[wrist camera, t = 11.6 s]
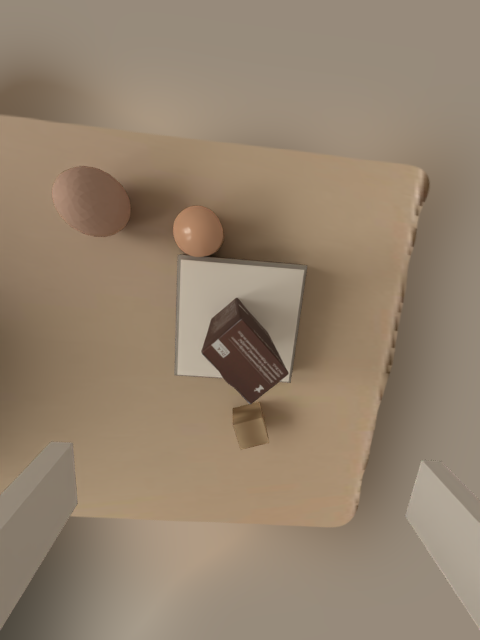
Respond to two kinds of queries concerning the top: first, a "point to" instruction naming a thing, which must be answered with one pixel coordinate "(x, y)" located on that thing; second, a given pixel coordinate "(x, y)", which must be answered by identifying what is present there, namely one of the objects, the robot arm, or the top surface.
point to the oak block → (250, 425)
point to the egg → (91, 201)
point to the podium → (221, 289)
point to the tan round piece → (198, 231)
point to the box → (243, 352)
